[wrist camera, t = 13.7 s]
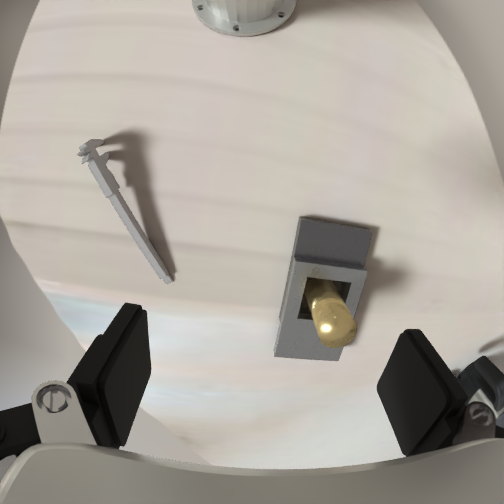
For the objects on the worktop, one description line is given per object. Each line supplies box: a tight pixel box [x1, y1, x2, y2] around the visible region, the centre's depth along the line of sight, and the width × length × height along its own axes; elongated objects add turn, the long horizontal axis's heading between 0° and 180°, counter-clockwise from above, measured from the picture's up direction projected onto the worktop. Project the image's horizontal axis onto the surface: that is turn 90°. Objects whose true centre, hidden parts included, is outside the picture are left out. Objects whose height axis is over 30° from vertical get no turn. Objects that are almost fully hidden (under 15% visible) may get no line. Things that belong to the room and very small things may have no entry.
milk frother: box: [456, 356, 504, 428], centre depth 38 cm, size 14×16×15 cm
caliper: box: [77, 139, 173, 284], centre depth 32 cm, size 20×1×6 cm, turn 24°
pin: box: [304, 278, 357, 348], centre depth 34 cm, size 4×4×10 cm
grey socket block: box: [274, 217, 372, 361], centre depth 37 cm, size 18×9×3 cm, turn 172°
